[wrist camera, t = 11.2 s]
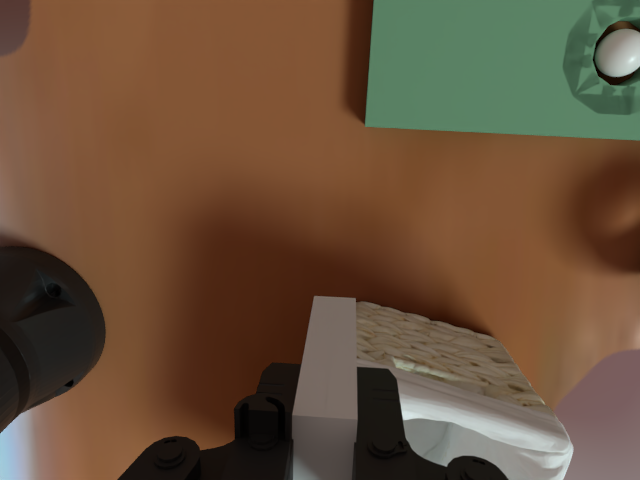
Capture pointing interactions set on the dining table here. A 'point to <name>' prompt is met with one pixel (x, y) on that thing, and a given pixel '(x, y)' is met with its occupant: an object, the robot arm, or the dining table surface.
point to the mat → (498, 68)
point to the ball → (619, 53)
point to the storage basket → (462, 394)
